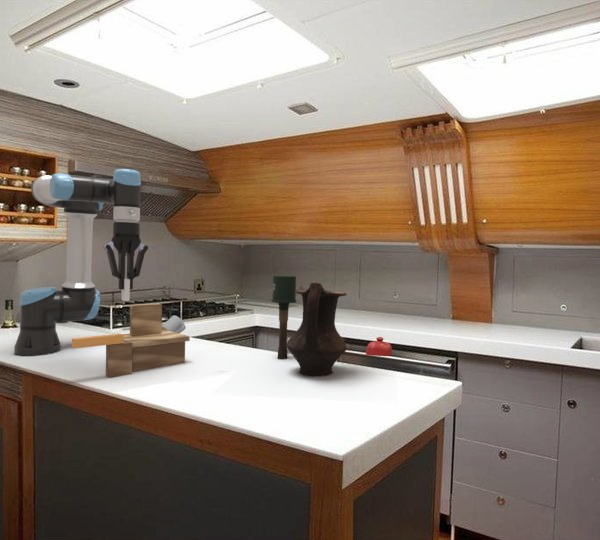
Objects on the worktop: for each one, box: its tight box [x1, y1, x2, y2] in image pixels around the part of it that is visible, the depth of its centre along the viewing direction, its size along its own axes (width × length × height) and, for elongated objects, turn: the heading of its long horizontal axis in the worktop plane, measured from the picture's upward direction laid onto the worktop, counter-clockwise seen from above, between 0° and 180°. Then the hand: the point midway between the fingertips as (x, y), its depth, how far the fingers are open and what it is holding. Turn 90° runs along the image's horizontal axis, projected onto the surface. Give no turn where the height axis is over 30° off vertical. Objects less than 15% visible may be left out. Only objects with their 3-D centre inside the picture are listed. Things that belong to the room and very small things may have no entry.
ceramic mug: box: [162, 315, 187, 334], centre depth 210 cm, size 11×8×8 cm
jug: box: [287, 281, 347, 378], centre depth 151 cm, size 21×18×30 cm
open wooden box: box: [105, 341, 186, 379], centre depth 161 cm, size 16×26×10 cm, turn 133°
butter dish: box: [365, 336, 393, 357], centre depth 181 cm, size 12×12×8 cm
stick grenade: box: [270, 274, 297, 360], centre depth 171 cm, size 8×9×30 cm
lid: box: [122, 303, 190, 348], centre depth 164 cm, size 16×20×12 cm
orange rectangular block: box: [71, 333, 124, 349], centre depth 145 cm, size 2×14×2 cm, turn 133°
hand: (125, 300), depth 150 cm, fingers closed
